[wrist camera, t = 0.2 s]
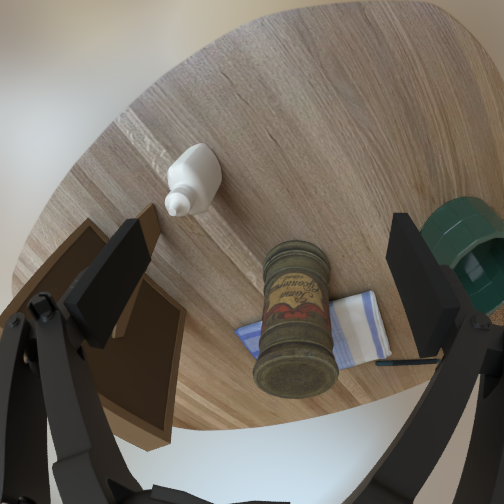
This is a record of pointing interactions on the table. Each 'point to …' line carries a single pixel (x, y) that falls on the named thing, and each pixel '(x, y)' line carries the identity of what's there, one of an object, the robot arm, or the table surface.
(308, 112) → the table surface
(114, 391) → the photo frame
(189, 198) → the eye dropper bottle
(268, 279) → the container
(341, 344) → the dish towel
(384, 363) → the pen
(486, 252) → the pot
